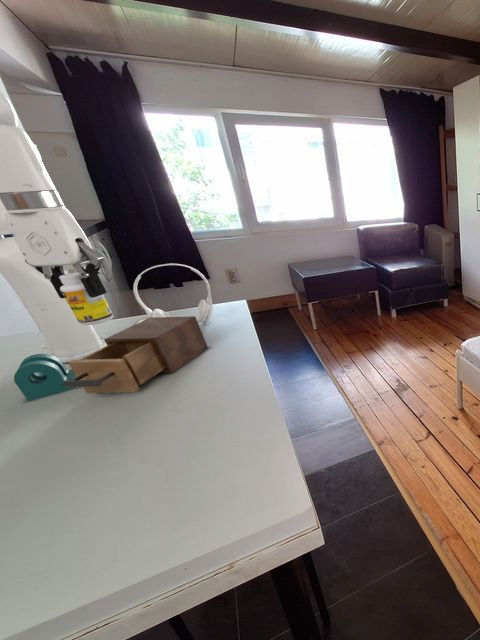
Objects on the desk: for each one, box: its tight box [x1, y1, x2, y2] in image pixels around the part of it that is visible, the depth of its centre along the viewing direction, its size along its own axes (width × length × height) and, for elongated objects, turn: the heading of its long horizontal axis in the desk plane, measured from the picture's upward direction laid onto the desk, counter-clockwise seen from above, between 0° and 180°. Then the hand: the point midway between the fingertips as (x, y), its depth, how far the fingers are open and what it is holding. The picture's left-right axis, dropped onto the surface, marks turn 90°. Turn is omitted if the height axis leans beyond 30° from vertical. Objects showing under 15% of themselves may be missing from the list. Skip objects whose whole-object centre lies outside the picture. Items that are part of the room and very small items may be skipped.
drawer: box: [62, 341, 166, 394], centre depth 82 cm, size 17×11×8 cm, turn 178°
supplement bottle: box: [59, 271, 114, 326], centre depth 76 cm, size 6×6×10 cm
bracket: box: [13, 353, 78, 402], centre depth 86 cm, size 18×7×8 cm, turn 130°
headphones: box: [133, 263, 214, 325], centre depth 112 cm, size 7×18×20 cm, turn 127°
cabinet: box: [103, 315, 209, 374], centre depth 94 cm, size 14×13×10 cm
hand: (83, 294), depth 76 cm, fingers closed on supplement bottle, 5 cm apart
